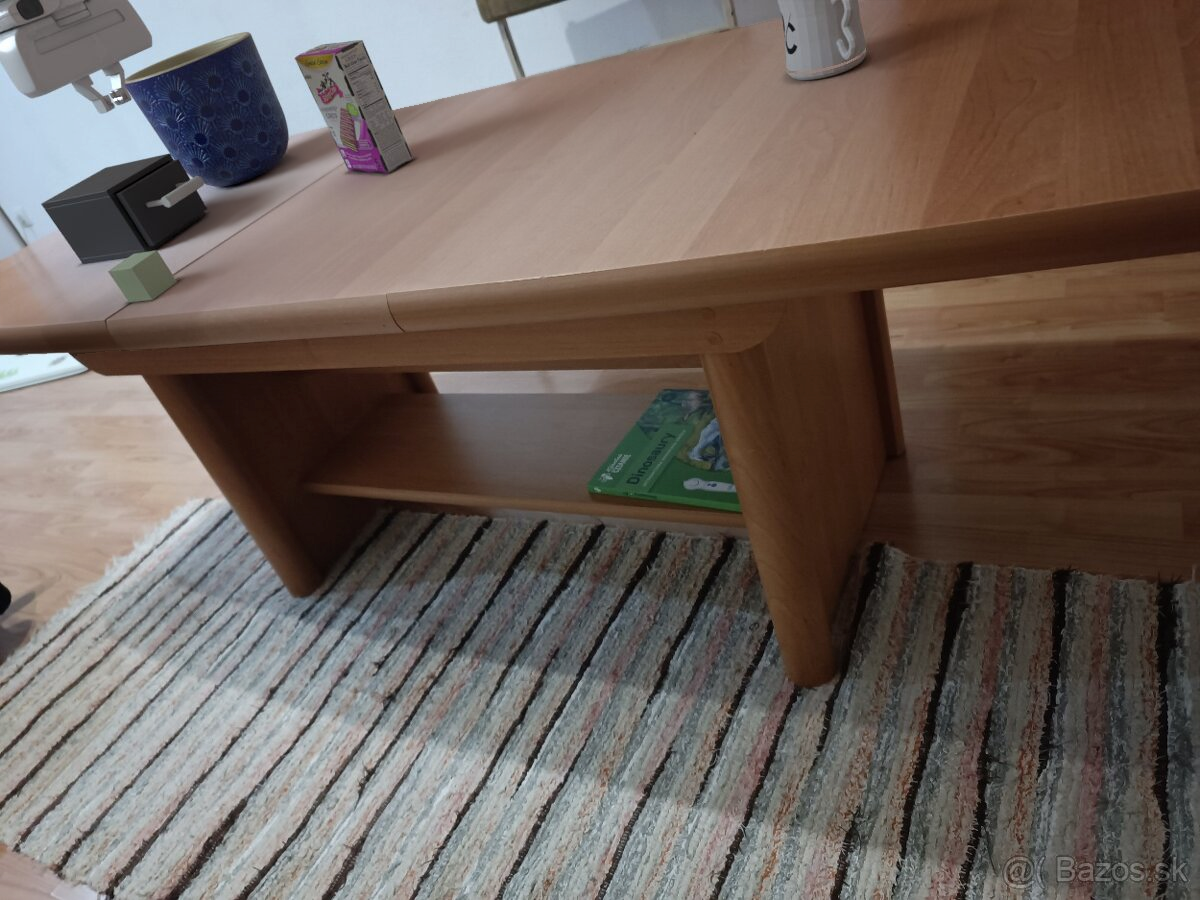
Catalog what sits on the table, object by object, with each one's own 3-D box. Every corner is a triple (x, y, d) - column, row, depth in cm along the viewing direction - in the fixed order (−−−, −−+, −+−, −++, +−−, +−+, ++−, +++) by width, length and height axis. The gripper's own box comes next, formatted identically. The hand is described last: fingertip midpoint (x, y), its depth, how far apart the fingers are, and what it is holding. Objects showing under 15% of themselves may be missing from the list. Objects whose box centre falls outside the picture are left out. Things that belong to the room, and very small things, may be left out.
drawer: (231, 205, 128) (202, 154, 123) (178, 241, 120) (145, 188, 115) (148, 219, 136) (118, 172, 131) (93, 254, 128) (59, 205, 123)
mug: (775, 74, 104) (760, -16, 98) (845, 48, 104) (834, -43, 99) (820, 94, 94) (806, -5, 88) (897, 64, 94) (889, -36, 89)
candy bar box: (346, 173, 126) (291, 57, 117) (373, 158, 129) (321, 43, 119) (387, 175, 119) (332, 51, 110) (415, 159, 121) (363, 37, 112)
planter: (302, 168, 137) (239, 43, 126) (179, 213, 137) (106, 92, 126) (312, 137, 154) (257, 24, 143) (202, 177, 154) (139, 67, 143)
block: (152, 300, 105) (131, 267, 102) (129, 302, 107) (107, 271, 104) (177, 281, 108) (157, 250, 105) (154, 284, 110) (133, 253, 107)
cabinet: (205, 214, 131) (170, 153, 126) (147, 254, 123) (106, 190, 117) (142, 225, 138) (105, 167, 132) (82, 263, 129) (40, 203, 124)
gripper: (95, -21, 116) (155, 84, 124) (-34, 25, 102) (42, 140, 110) (126, -32, 113) (185, 76, 121) (-3, 13, 99) (73, 132, 107)
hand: (116, 107), depth 115 cm, fingers closed
